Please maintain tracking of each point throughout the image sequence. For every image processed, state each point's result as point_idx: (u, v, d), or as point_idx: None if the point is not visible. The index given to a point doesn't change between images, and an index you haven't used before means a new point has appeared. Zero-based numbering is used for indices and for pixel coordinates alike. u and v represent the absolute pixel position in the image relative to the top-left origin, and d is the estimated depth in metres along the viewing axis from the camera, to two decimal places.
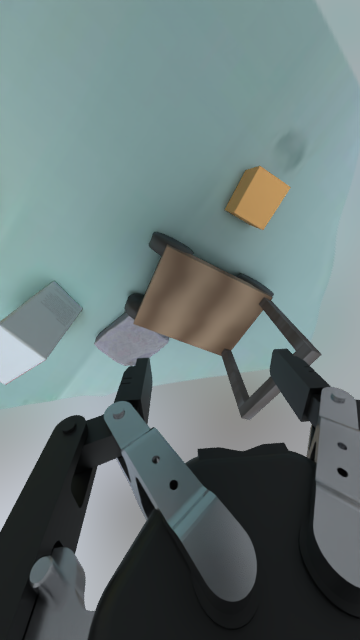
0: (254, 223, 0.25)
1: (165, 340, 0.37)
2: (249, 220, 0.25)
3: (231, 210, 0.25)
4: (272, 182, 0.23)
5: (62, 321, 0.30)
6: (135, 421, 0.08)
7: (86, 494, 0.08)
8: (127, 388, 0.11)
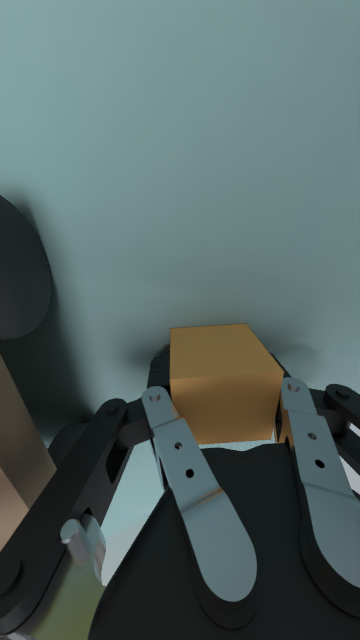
0: None
1: None
2: None
3: (173, 358, 0.10)
4: (265, 409, 0.10)
5: None
6: (172, 403, 0.09)
7: (119, 473, 0.08)
8: (156, 376, 0.11)
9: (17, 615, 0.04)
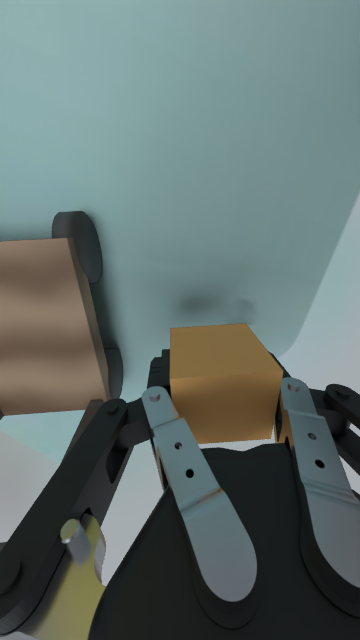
0: None
1: None
2: None
3: (173, 358, 0.10)
4: (264, 409, 0.10)
5: None
6: (172, 403, 0.09)
7: (119, 473, 0.08)
8: (156, 376, 0.11)
9: (17, 615, 0.04)
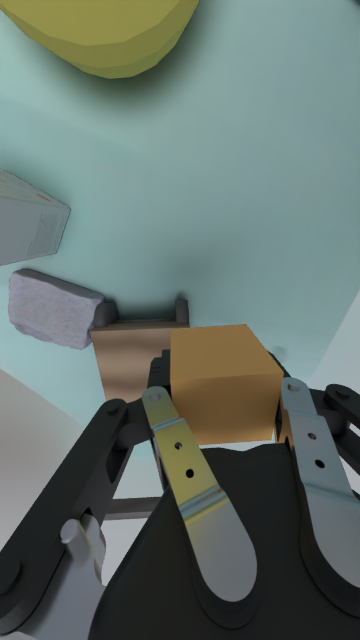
0: None
1: (83, 347, 0.30)
2: None
3: (173, 359, 0.10)
4: (265, 410, 0.10)
5: (31, 249, 0.21)
6: (172, 403, 0.09)
7: (119, 473, 0.08)
8: (156, 376, 0.11)
9: (17, 615, 0.04)
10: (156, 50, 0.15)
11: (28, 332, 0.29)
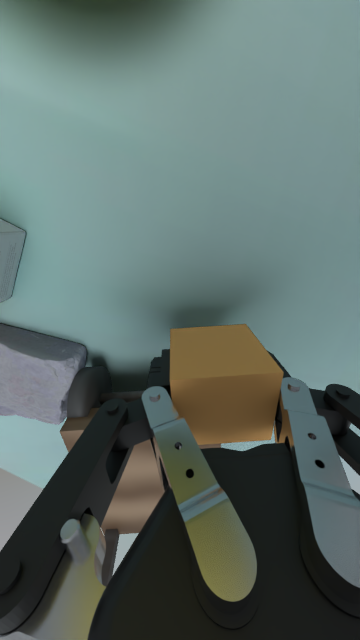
0: None
1: (58, 422, 0.20)
2: None
3: (173, 359, 0.10)
4: (264, 410, 0.10)
5: None
6: (172, 403, 0.09)
7: (119, 473, 0.08)
8: (156, 376, 0.11)
9: (17, 615, 0.04)
10: None
11: None
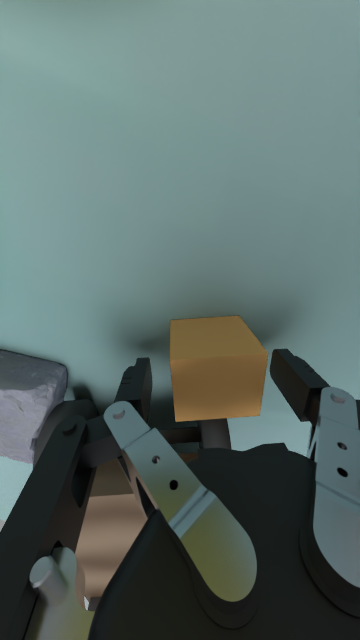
0: (176, 403, 0.11)
1: (31, 462, 0.16)
2: (175, 393, 0.11)
3: (172, 344, 0.12)
4: (253, 387, 0.11)
5: None
6: (135, 421, 0.08)
7: (86, 494, 0.08)
8: (127, 388, 0.11)
9: None
10: None
11: None
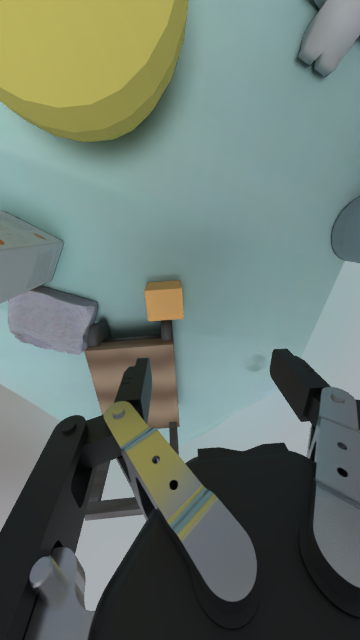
0: (148, 311, 0.28)
1: (79, 351, 0.32)
2: (147, 306, 0.28)
3: (146, 287, 0.28)
4: (178, 304, 0.28)
5: (30, 282, 0.24)
6: (135, 421, 0.08)
7: (86, 494, 0.08)
8: (127, 388, 0.11)
9: None
10: (131, 128, 0.18)
11: (27, 340, 0.31)
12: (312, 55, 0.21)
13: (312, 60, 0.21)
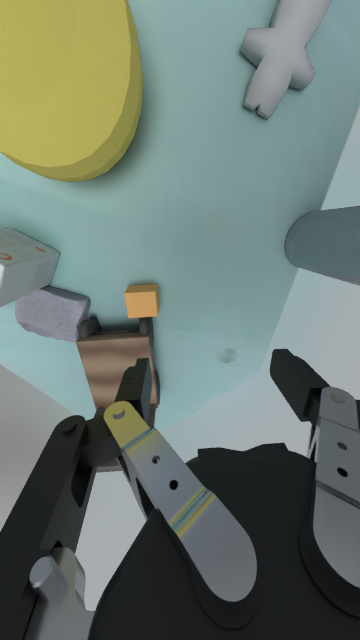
0: (128, 310, 0.34)
1: (74, 339, 0.38)
2: (127, 305, 0.34)
3: (127, 290, 0.34)
4: (153, 304, 0.34)
5: (32, 286, 0.31)
6: (135, 421, 0.08)
7: (86, 494, 0.08)
8: (127, 388, 0.11)
9: None
10: (106, 171, 0.24)
11: (31, 329, 0.38)
12: (252, 105, 0.26)
13: (253, 108, 0.27)
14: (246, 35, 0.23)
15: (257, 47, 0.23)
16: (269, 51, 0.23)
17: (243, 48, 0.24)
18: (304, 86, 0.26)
